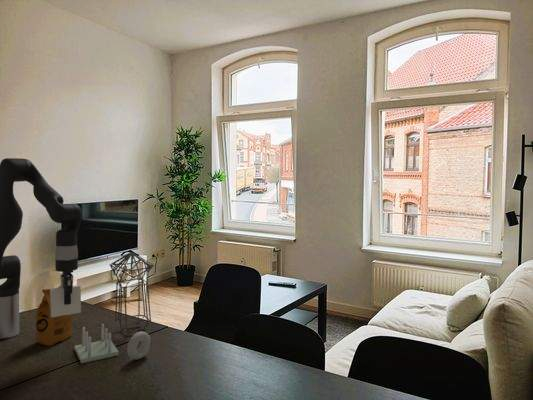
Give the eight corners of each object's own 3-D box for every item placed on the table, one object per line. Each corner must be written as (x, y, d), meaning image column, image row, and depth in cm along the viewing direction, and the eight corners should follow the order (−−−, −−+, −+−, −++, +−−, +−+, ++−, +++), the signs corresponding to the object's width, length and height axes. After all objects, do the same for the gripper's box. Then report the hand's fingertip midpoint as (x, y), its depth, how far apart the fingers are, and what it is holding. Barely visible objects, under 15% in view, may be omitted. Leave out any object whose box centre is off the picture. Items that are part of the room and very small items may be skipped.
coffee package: (31, 343, 161) (31, 288, 161) (58, 332, 173) (58, 282, 172) (49, 347, 158) (49, 291, 157) (75, 336, 169) (75, 284, 168)
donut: (131, 365, 144) (131, 337, 143) (124, 362, 145) (125, 335, 145) (152, 354, 152) (152, 328, 152) (145, 352, 154) (145, 327, 154)
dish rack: (74, 349, 156) (74, 327, 156) (109, 342, 163) (109, 322, 163) (81, 363, 144) (81, 339, 144) (118, 355, 152) (118, 332, 151)
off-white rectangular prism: (50, 315, 149) (49, 288, 149) (80, 310, 155) (79, 285, 154) (51, 317, 147) (50, 290, 147) (81, 312, 152) (80, 286, 152)
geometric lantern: (156, 334, 174) (155, 253, 171) (118, 342, 165) (117, 257, 162) (145, 322, 187) (143, 248, 184) (109, 330, 178) (107, 251, 175)
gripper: (53, 255, 154) (53, 300, 155) (57, 261, 142) (57, 309, 143) (75, 253, 158) (75, 297, 159) (80, 259, 146) (80, 306, 147)
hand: (67, 303), depth 151 cm, fingers closed on off-white rectangular prism, 2 cm apart
